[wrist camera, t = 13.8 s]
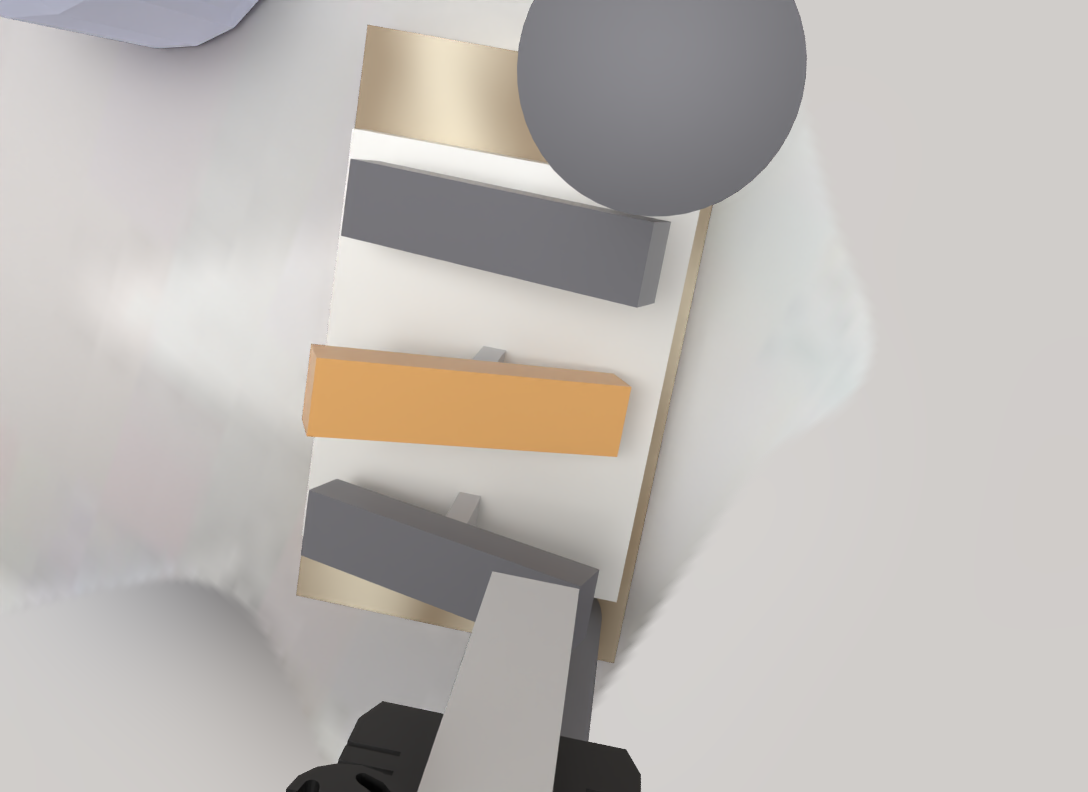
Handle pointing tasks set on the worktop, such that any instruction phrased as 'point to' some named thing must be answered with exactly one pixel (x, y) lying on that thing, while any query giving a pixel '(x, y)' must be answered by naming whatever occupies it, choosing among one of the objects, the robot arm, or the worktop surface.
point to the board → (494, 126)
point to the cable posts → (656, 129)
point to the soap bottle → (134, 18)
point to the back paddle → (428, 552)
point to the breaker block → (509, 337)
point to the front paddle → (507, 231)
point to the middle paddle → (462, 402)
